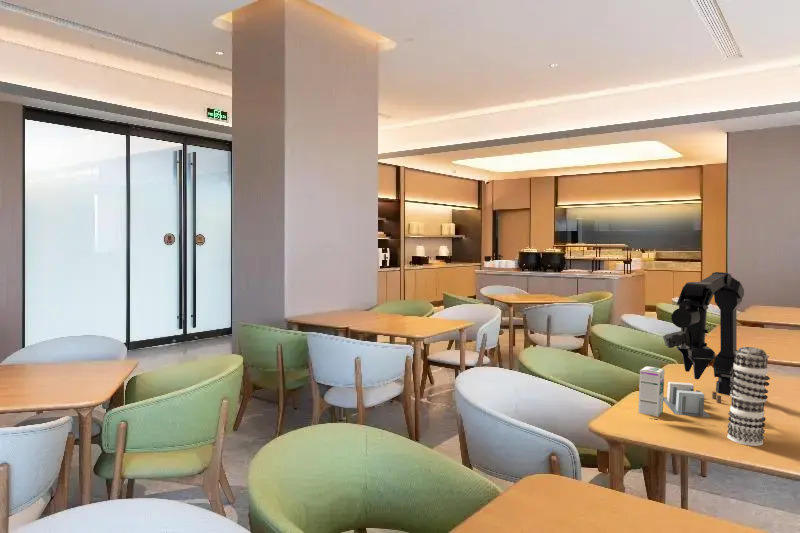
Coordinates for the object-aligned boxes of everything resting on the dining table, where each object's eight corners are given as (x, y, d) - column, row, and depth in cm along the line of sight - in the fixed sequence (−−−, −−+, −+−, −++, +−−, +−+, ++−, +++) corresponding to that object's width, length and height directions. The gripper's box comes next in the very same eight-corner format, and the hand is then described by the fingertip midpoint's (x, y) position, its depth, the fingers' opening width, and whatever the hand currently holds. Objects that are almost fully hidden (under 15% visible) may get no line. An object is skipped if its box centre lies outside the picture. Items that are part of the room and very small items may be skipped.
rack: (692, 403, 186) (693, 383, 185) (711, 421, 168) (712, 399, 168) (659, 400, 188) (660, 380, 187) (674, 418, 170) (676, 396, 170)
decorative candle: (717, 435, 156) (723, 346, 155) (741, 432, 160) (748, 344, 158) (748, 448, 148) (755, 353, 146) (773, 444, 151) (780, 351, 149)
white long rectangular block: (700, 411, 174) (701, 392, 173) (702, 413, 171) (704, 394, 171) (675, 409, 175) (676, 390, 175) (677, 411, 173) (679, 392, 172)
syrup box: (658, 420, 168) (661, 372, 166) (637, 416, 171) (639, 368, 170) (662, 415, 172) (665, 368, 171) (642, 411, 176) (644, 365, 175)
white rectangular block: (690, 401, 183) (691, 383, 183) (692, 403, 181) (693, 385, 181) (666, 399, 185) (668, 381, 184) (668, 401, 182) (670, 383, 182)
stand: (717, 401, 188) (718, 391, 188) (724, 407, 182) (725, 396, 182) (691, 399, 190) (692, 389, 189) (697, 405, 184) (698, 394, 184)
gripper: (658, 318, 182) (655, 366, 184) (675, 328, 164) (671, 381, 165) (696, 320, 180) (693, 368, 181) (717, 330, 162) (713, 384, 163)
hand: (691, 375), depth 173 cm, fingers open, 9 cm apart
